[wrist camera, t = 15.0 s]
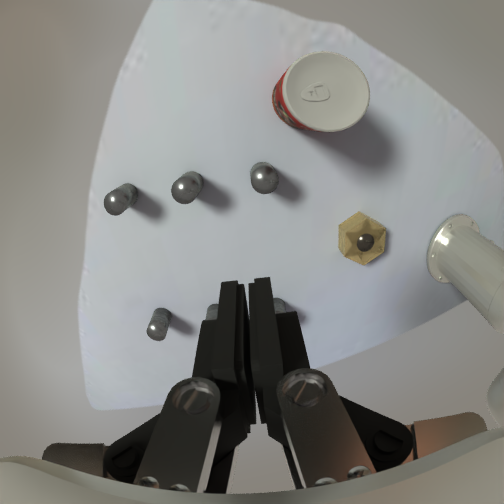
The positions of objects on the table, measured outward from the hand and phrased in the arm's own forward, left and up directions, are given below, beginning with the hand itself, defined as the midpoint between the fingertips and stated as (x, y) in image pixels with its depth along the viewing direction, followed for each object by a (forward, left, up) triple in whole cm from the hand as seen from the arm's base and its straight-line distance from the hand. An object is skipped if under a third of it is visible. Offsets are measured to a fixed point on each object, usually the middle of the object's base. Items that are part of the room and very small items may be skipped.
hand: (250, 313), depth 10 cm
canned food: (-8, -9, -27) cm, 30 cm away
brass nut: (-15, +10, -27) cm, 32 cm away
